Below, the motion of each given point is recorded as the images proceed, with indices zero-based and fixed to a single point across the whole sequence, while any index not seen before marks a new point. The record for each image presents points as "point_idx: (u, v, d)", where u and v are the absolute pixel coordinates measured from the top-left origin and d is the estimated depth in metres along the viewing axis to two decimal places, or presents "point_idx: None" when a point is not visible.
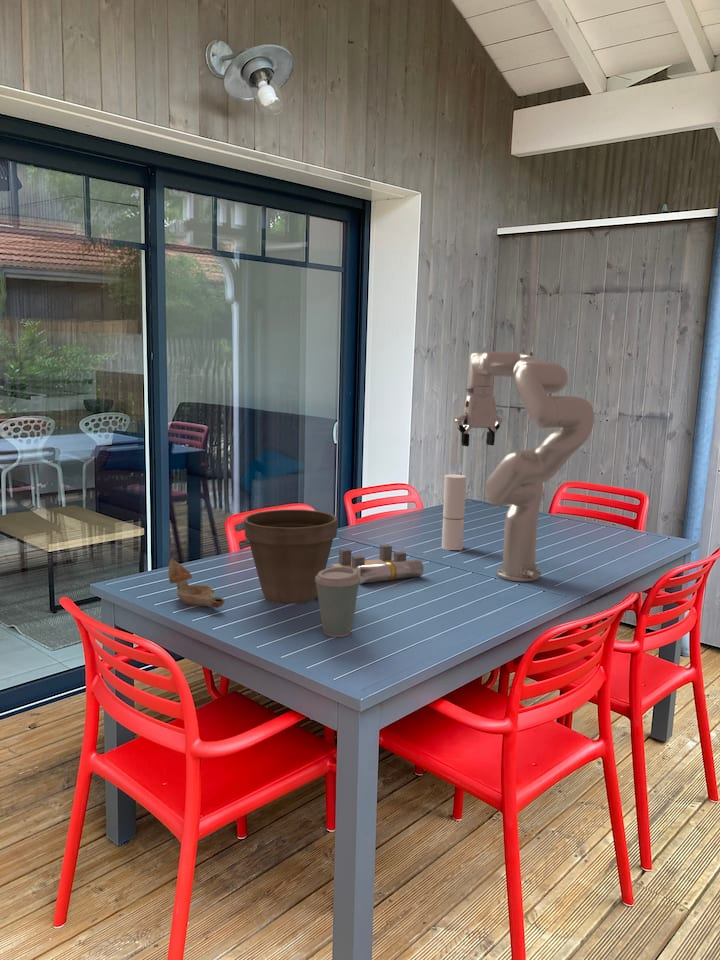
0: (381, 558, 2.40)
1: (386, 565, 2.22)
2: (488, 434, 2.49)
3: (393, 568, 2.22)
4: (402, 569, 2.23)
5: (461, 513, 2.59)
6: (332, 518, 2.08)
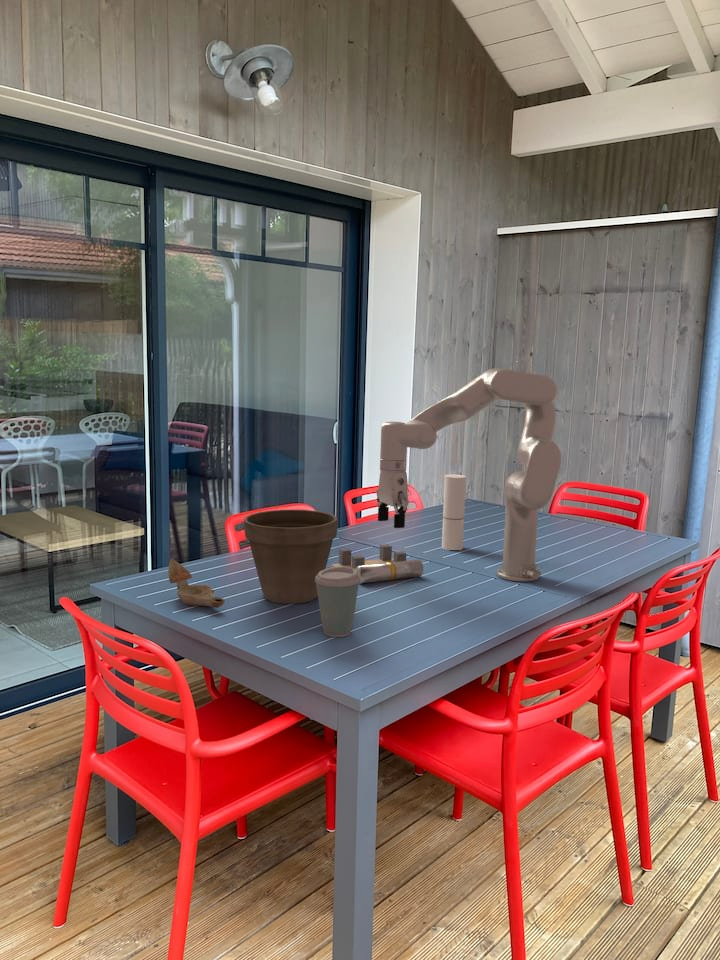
0: (381, 558, 2.40)
1: (386, 565, 2.22)
2: (382, 510, 2.25)
3: (393, 568, 2.22)
4: (402, 569, 2.23)
5: (461, 513, 2.59)
6: (332, 518, 2.08)
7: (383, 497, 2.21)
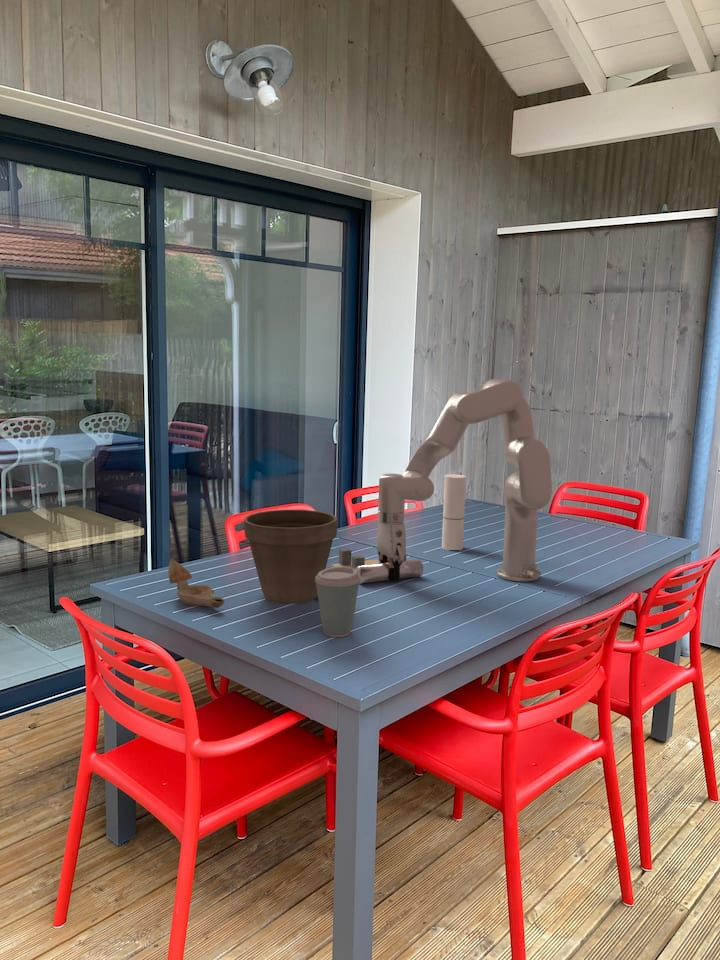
0: None
1: (386, 565, 2.22)
2: None
3: None
4: (402, 569, 2.23)
5: (461, 513, 2.59)
6: (332, 518, 2.08)
7: (381, 548, 2.23)
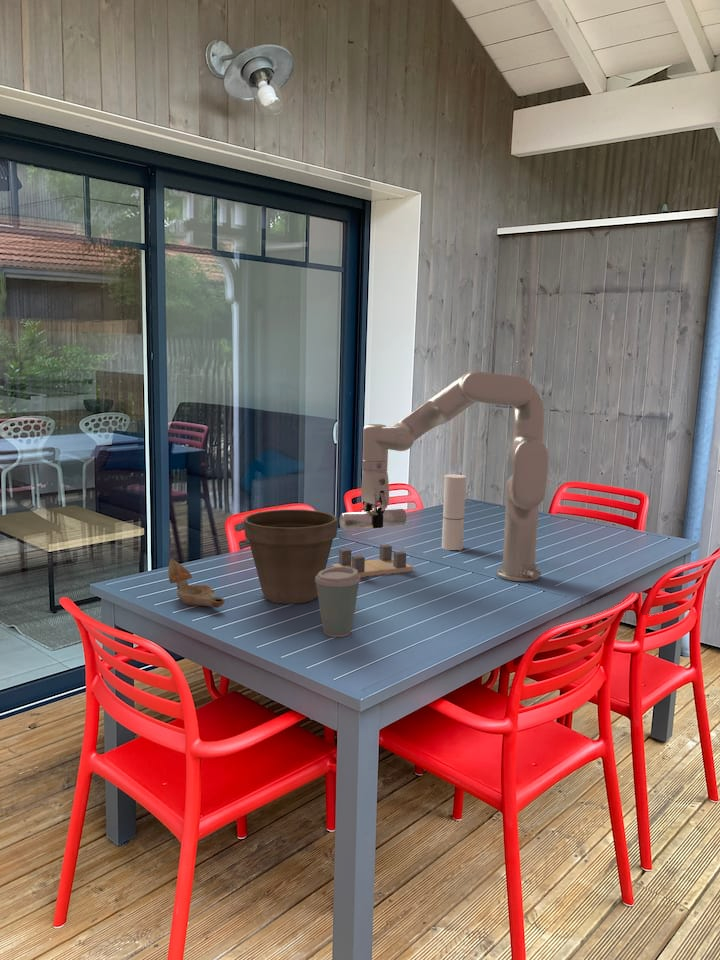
0: (381, 558, 2.40)
1: (370, 513, 2.30)
2: None
3: None
4: (386, 517, 2.31)
5: (461, 513, 2.59)
6: (332, 518, 2.08)
7: (365, 496, 2.30)
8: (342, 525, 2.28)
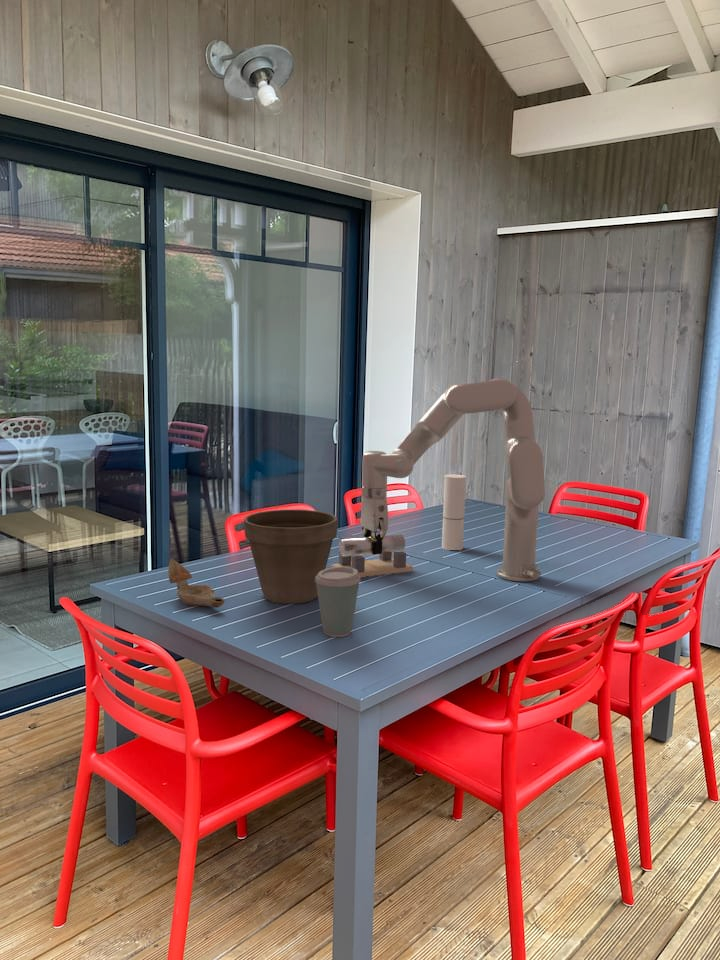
0: (381, 558, 2.40)
1: (369, 539, 2.31)
2: None
3: None
4: (385, 543, 2.32)
5: (461, 513, 2.59)
6: (332, 518, 2.08)
7: (365, 522, 2.32)
8: (341, 551, 2.29)
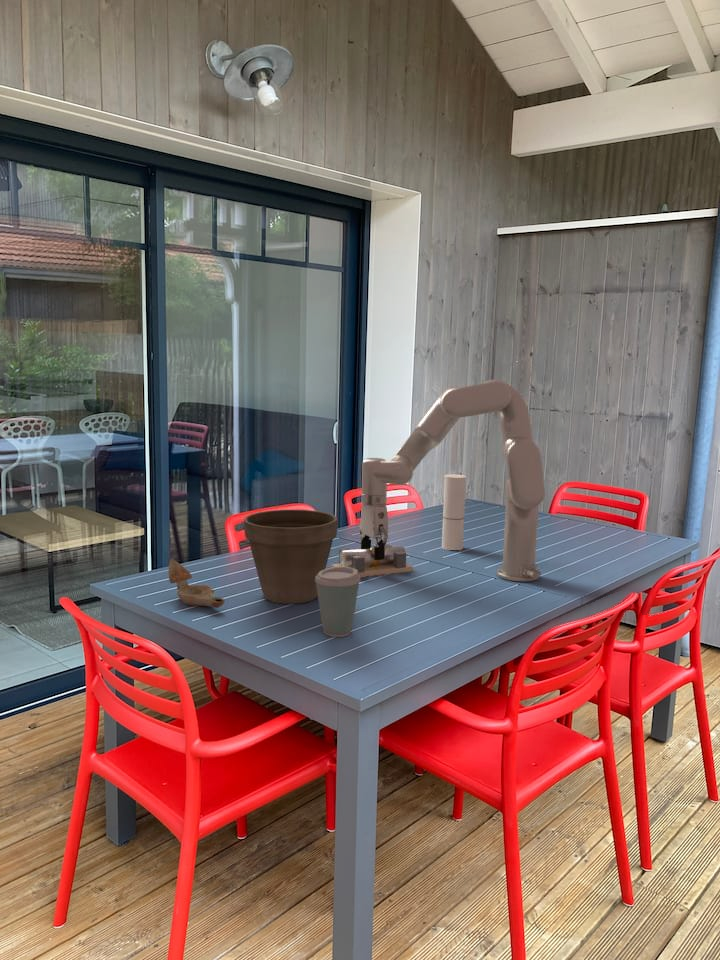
0: None
1: (370, 550, 2.32)
2: (364, 542, 2.36)
3: None
4: (385, 555, 2.33)
5: (461, 513, 2.59)
6: (332, 518, 2.08)
7: (365, 529, 2.32)
8: (342, 562, 2.30)
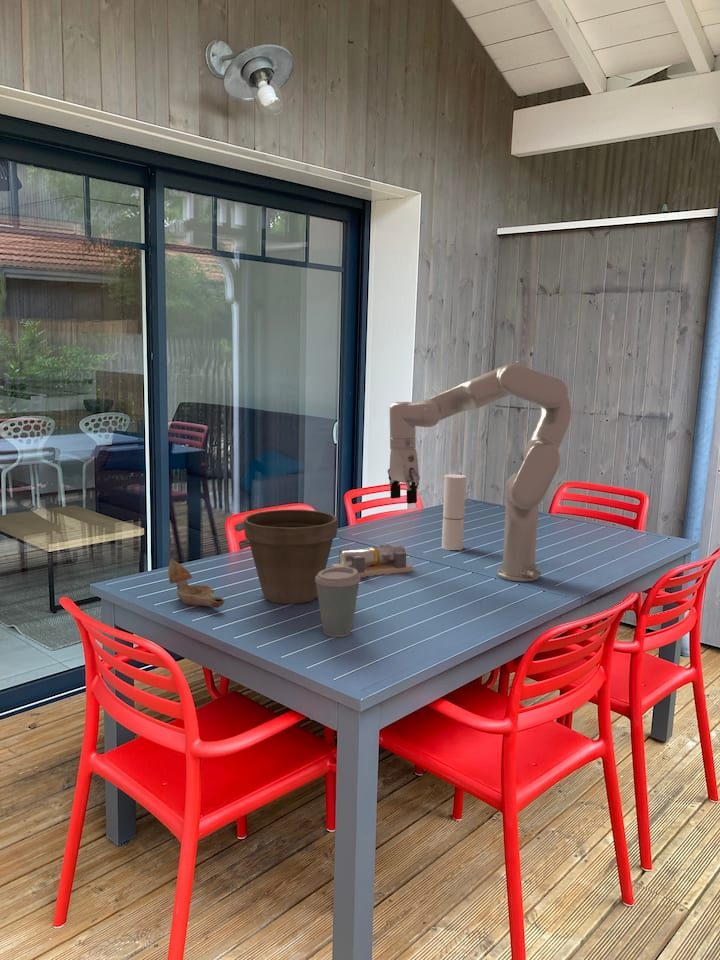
0: None
1: (369, 551, 2.31)
2: (394, 487, 2.35)
3: (376, 554, 2.31)
4: (385, 555, 2.33)
5: (461, 513, 2.59)
6: (332, 518, 2.08)
7: (395, 475, 2.30)
8: (342, 563, 2.30)
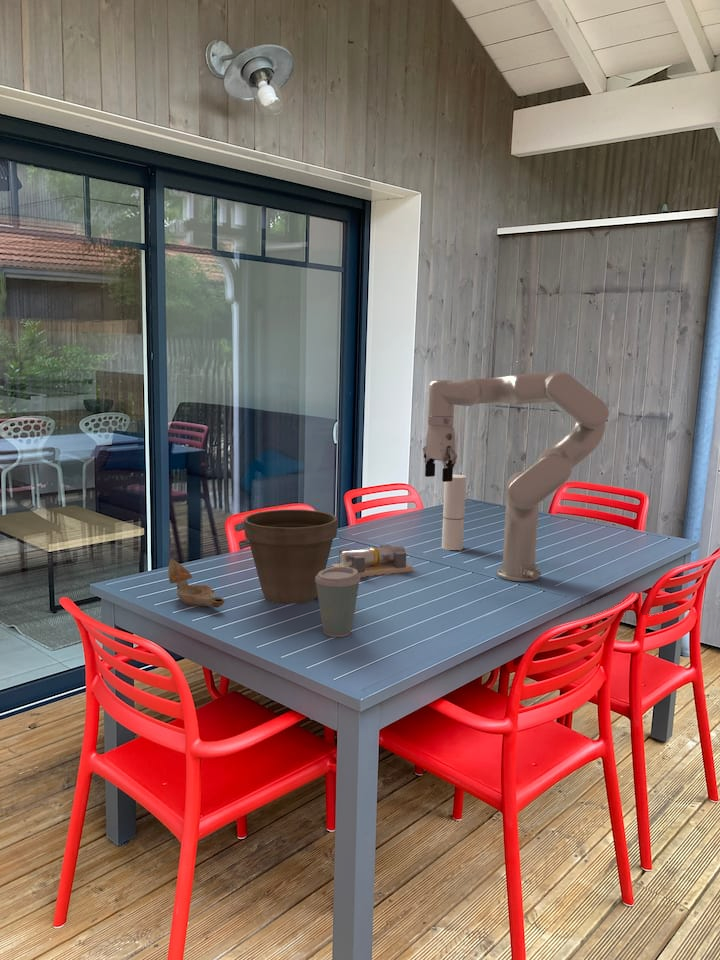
0: None
1: (369, 551, 2.31)
2: (429, 465, 2.35)
3: (376, 554, 2.31)
4: (385, 555, 2.33)
5: (461, 513, 2.59)
6: (332, 518, 2.08)
7: (431, 453, 2.30)
8: (342, 563, 2.30)
